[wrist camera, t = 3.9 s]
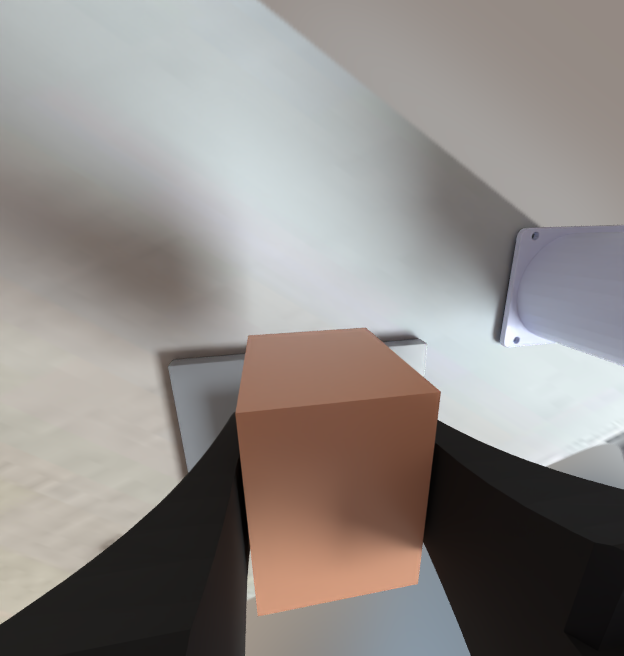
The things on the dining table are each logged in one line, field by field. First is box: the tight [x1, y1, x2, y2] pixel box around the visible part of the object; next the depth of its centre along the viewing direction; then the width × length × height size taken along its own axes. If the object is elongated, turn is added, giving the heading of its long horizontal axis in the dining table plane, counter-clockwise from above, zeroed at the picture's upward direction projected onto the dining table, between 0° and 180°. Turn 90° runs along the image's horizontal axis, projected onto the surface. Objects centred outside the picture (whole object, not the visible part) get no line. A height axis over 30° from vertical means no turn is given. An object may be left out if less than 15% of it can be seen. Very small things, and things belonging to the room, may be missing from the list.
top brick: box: [235, 328, 441, 616], centre depth 9 cm, size 4×6×5 cm
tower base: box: [168, 339, 427, 473], centre depth 19 cm, size 16×14×4 cm
